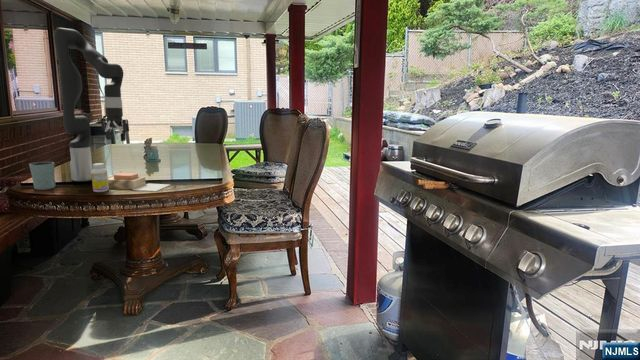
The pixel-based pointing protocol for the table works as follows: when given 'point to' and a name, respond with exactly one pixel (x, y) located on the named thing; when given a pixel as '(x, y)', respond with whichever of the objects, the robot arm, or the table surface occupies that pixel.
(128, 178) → the orange brown flat block
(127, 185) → the deck
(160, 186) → the mat
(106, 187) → the supplement bottle
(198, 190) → the table surface
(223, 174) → the table surface
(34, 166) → the pale teal cup
